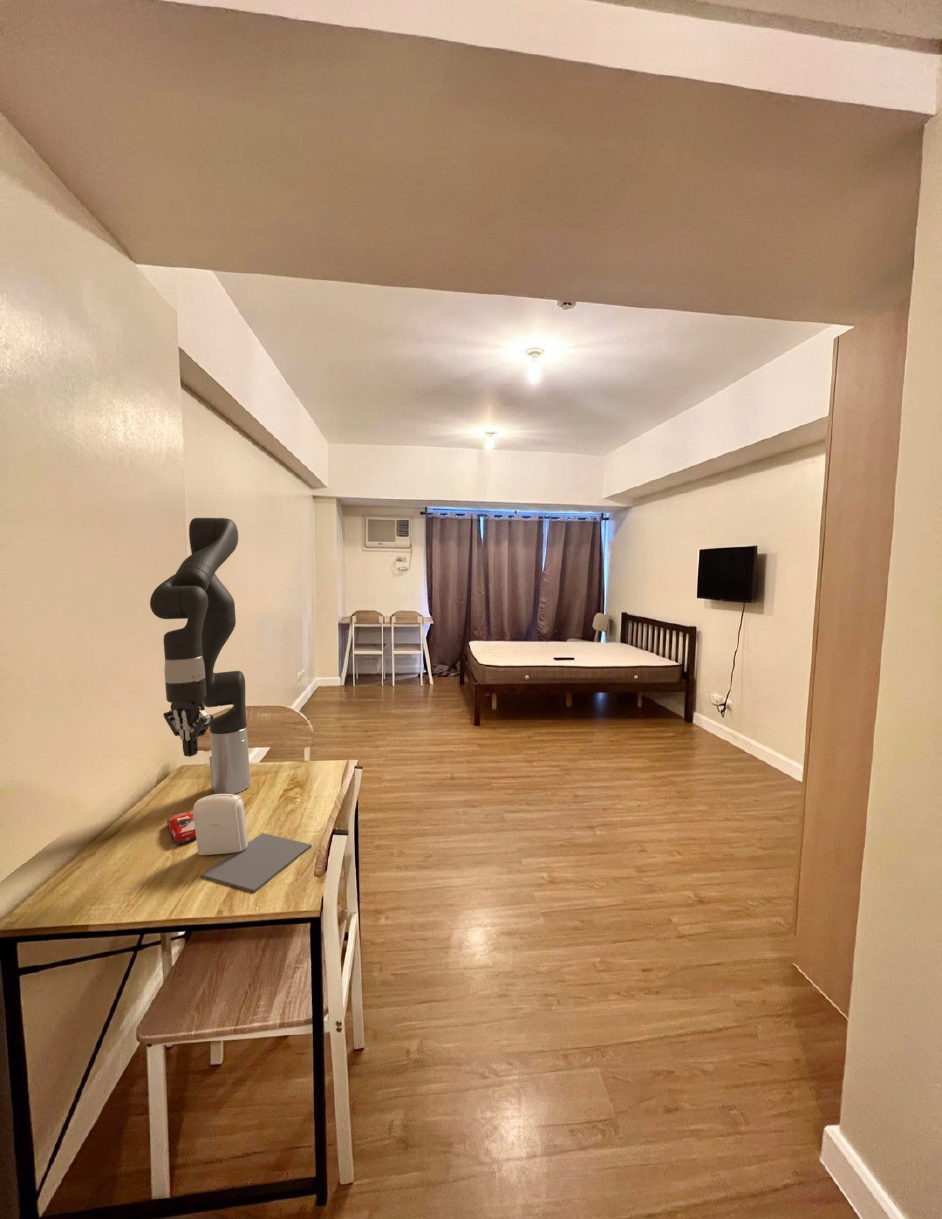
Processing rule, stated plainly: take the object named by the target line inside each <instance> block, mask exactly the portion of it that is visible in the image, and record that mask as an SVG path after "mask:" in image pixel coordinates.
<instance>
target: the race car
mask: <svg viewBox="0 0 942 1219" xmlns="http://www.w3.org/2000/svg"><path fill="white" fill-rule="evenodd" d="M166 823H167V828H168V831H169V833H170V834H169V835H170V836H171V839H172V841H173V844H176V845H180V844H183V843H187V842H190V841H192V840H196V832H195V825H194V817H193V813H191V812H188V811H187V812H180V813H177V814H173V816H170V817H169V818H168V819H167V822H166Z"/></svg>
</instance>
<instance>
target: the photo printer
mask: <svg viewBox="0 0 942 1219" xmlns="http://www.w3.org/2000/svg"><path fill="white" fill-rule="evenodd" d="M245 813H246V812H245V804H244V800H243V797H242V796H240V795H237V794H215V793H214V794H210V795H207V796H203V797H202V798H199V799H198V800H197V801H195V802H194V805H193V808H192V814H193V817H194V825H195V832H196V839H195V840H196V845H197V852H198V853H197V854H198V856H210V855H223V854H232V853H234V852H240V851H243V850H245V849H246V848H247V846H248V842H249V836H248V829H247V827H248V826H247V820H246V814H245Z"/></svg>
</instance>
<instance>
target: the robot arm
mask: <svg viewBox="0 0 942 1219" xmlns="http://www.w3.org/2000/svg"><path fill="white" fill-rule="evenodd" d="M188 537H189V544H190V545H189V547H190V553H191V554H190V555H189V556H187V557H186V558H185V559H184V560H183V561H182V562H181V564H180V565H179V568H178V569H177V571H176V573H175V574H173V575H171V576H170V577H168V578H167V579H166V580H163V582H161V583H160V584H159V585H158V586H157V587H156V588H155V589H154V590H153V592H152V594H151V596H150V599H149V606H150V607H149V608H150V610H151V612H152V614H153V615H155V616H156V618H159V619H160V620H161V619H163V620H179V619H180V620H181V619H182V620H184V619H186V620H187V621H186V624H185V626H184V627H181V628H179V629H174V630H170V631H167V632H166V633H165V634H164V635H163V649H164V650H163V651H164V652H163V653H164V681H165V682H164V683H165V684H164V685H165V698H166V702H168V703H170V709H169V711H166V712H164V713H163V718H164V720H165V722H166V723H167V725H168V727H169V728H170V730H171V731H172V734H173V735H174V736H175V737H179V739H180V740H181V741H182V752H183V756H185V757H189V758H190V757H193V756H196V755H198V751H199V746H198V745H199V744H198V743H199V742H198V738H199V737H202V736H205V734H206V733H207V731H208V729H209V739H210V750H211V753H210V754H211V756H210V757H209V770H210V771H209V774H210V786H211V787H210V789H211V791H213V792H214V795H215V794H233V795H236V794H239V793H241V792H244V791H246V790H247V789H249V788H250V786H251V772H250V756H249V744H248V743H249V740H248V739H249V738H248V728H247V727H248V725H247V724H248V723H247V714H246V713H247V712H246V711H247V710H246V678H245V675H244V673H243V672H242V671H241V670H233V671H231V670H230V671H221V672H214V667H215V665H216V661H217V659H218V657H219V656H220V653H221V651H222V650H223V647H224V646H225V644H226V643H227V642H228V640H229V638H230V637H231V635H232V634H233V631H234V630H235V628H236V622H237V620H236V608H235V607H236V606H235V604H236V602H235V600H234V598H233V596H232V594H231V593H230V592H229V590H228V589H227V588H226V586H225V585H224V584H223V583H222V581H221V580H220V579H219V577H218V576H217V574H216V572H217V571H218V569H219V568H220V567H221V566H222V565H223V564H224V563H225V562H226V561H227V559H228V558H230V556H231V555H232V554H233V552H235V550H236V549H237V546H238V544H239V531H238V526H237V524H236V523H235V521H233V520H232V519H230V518H227V517H194V518H192V520H190V523H189V527H188ZM230 705H231V706H232V707H231V708H230V709H229V710H228V711H226V712H225V713H223V714H221V715H218V716H216V717H214V715H213V714H208V713H207V712H206V710H205V709H206V708H216V707H217V708H218V707H225V706H230ZM246 788H247V789H246ZM245 789H246V790H245Z"/></svg>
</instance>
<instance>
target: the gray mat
mask: <svg viewBox="0 0 942 1219" xmlns="http://www.w3.org/2000/svg"><path fill="white" fill-rule="evenodd" d="M311 848H312V843H306V842H302V841H297V840H294V839H289V838H285V837H281V836H276V835H273V834H268V833H264V832H261V834H259V835H257V836H256V837H254V838H252V840H250V841H248V846H247V848H246V849H245V850H243V851H240V852H234V853H229V855H227V856H226V857H225V858H223V859H221V860H220V861H218V862H217V863H216V864H214V865H213V866H211V867H209V868H208V869H207V870H205V871H203V872H202V873H201V874H200V877H201V878H204V877H205V878H204V879H207V878H209V879H208V880H211V881H214V882H218V883H221V884H225V885H227V886H232V887H235V888H238V889H242V890H244V891H248V892H252V893H256V892H257V891H259V890H260V889H261V888H262V887H264V886H265V885H266V884H267V883H269V881H271V880H272V879H274V877H276V876H277V875H278V874H279V873H281V872H282V871H283V870H285V869H286V868H287V867H288V866H289V865H291V864H292V863H293V862H294V861H296V860H297V859H299V857H301V856H302V855H303V854H304V853H306V852H307V851H308V850H309V849H311Z"/></svg>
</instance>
